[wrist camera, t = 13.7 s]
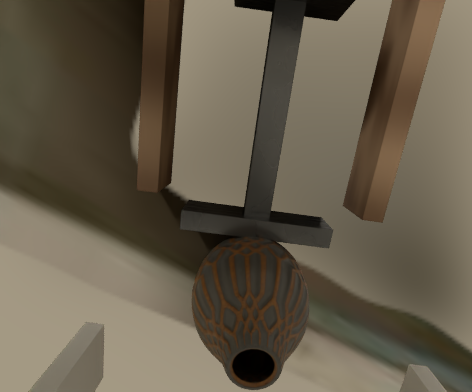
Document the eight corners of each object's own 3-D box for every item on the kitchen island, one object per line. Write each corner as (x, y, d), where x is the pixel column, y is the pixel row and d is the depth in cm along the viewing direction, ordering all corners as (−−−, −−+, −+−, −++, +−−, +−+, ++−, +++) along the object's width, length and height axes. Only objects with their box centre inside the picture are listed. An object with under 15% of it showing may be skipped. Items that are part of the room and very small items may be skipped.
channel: (167, -64, 15) (149, -112, 12) (420, -27, 15) (463, -66, 12) (153, 180, 18) (136, 190, 15) (359, 207, 18) (382, 222, 15)
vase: (294, 304, 20) (333, 430, 12) (205, 306, 20) (179, 432, 12) (295, 219, 19) (341, 293, 10) (198, 222, 19) (162, 298, 10)
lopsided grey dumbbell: (213, -60, 14) (194, -189, 9) (377, -36, 15) (468, -147, 9) (187, 216, 18) (162, 256, 12) (317, 233, 18) (353, 280, 13)
